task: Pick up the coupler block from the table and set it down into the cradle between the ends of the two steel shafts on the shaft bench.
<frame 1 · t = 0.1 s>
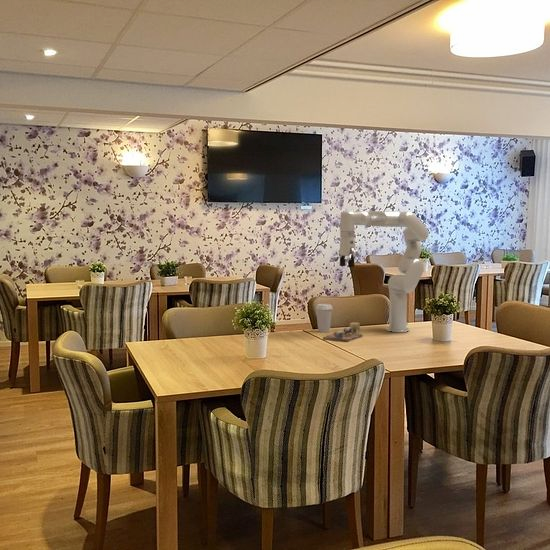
hand: (346, 266, 335), 37 cm above the table, tool pointing down, fingers open, 9 cm apart
coffee cup: (323, 331, 349), on the table
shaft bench: (342, 338, 330), on the table
coupler: (354, 334, 341), on the table
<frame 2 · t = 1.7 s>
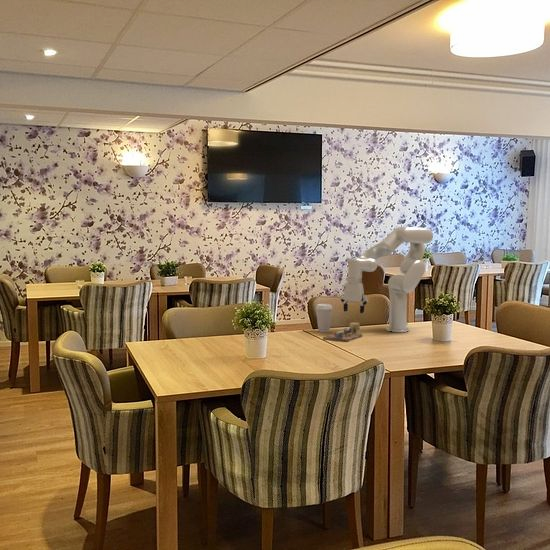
hand: (353, 312, 340), 12 cm above the table, tool pointing down, fingers open, 9 cm apart
nothing on the table moved.
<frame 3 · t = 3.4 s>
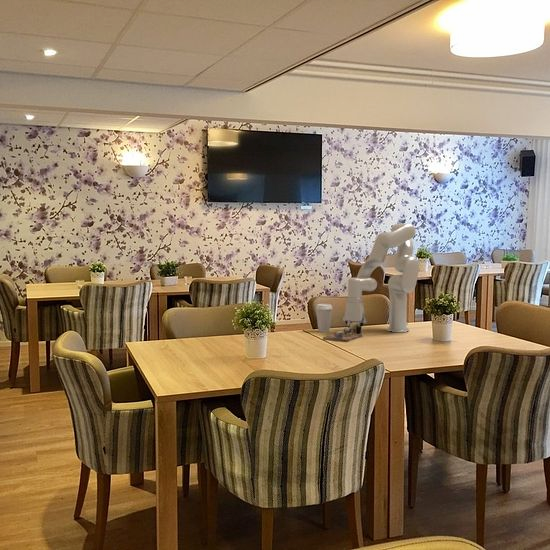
hand: (354, 333, 341), 0 cm above the table, tool pointing down, fingers closed on coupler, 4 cm apart
coupler: (354, 334, 341), on the table, touching gripper
everything else where it was.
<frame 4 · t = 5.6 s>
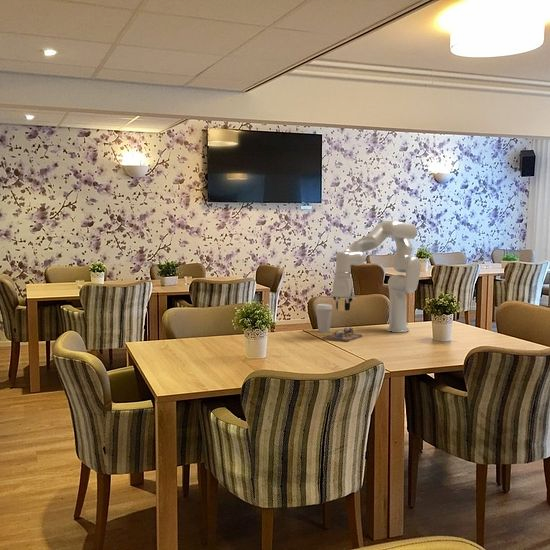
hand: (343, 309, 328), 15 cm above the table, tool pointing down, fingers closed on coupler, 4 cm apart
coupler: (343, 310, 328), point 15 cm above the table, touching gripper
everything else where it was.
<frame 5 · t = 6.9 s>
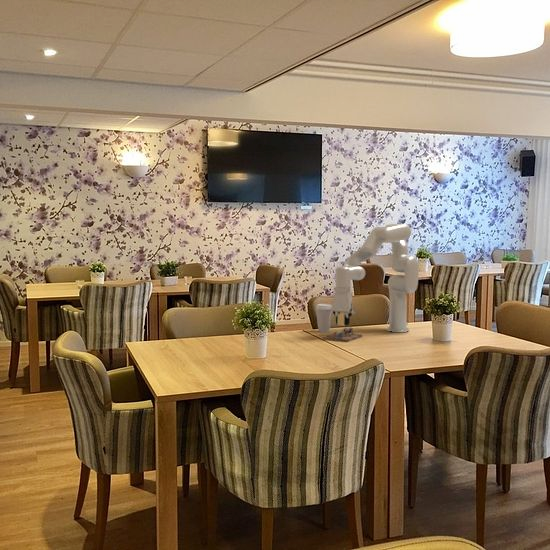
hand: (342, 324, 329), 7 cm above the table, tool pointing down, fingers closed on coupler, 4 cm apart
coupler: (342, 324, 329), point 7 cm above the table, touching gripper
everything else where it was.
when the fingers open (4 cm above the table, at t = 7.9 s): coupler drops 2 cm, resting on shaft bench.
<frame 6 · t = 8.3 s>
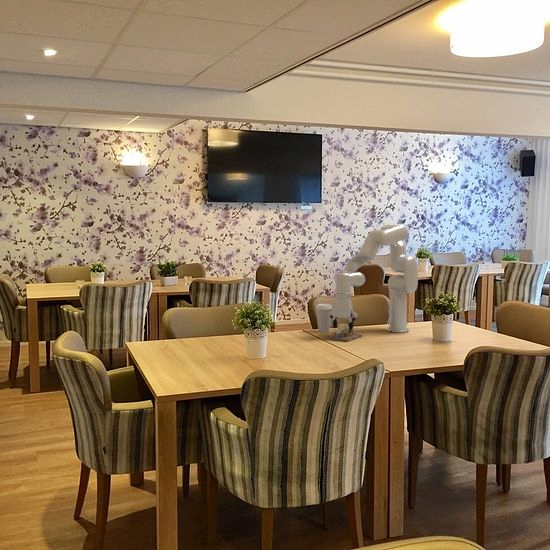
hand: (342, 328, 329), 5 cm above the table, tool pointing down, fingers open, 8 cm apart
coupler: (342, 335, 330), point 1 cm above the table, touching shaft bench
everything else where it was.
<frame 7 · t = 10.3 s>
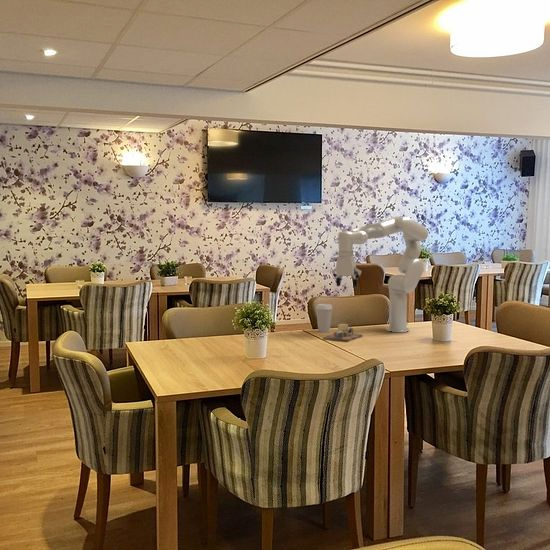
hand: (346, 286, 336), 27 cm above the table, tool pointing down, fingers open, 9 cm apart
nothing on the table moved.
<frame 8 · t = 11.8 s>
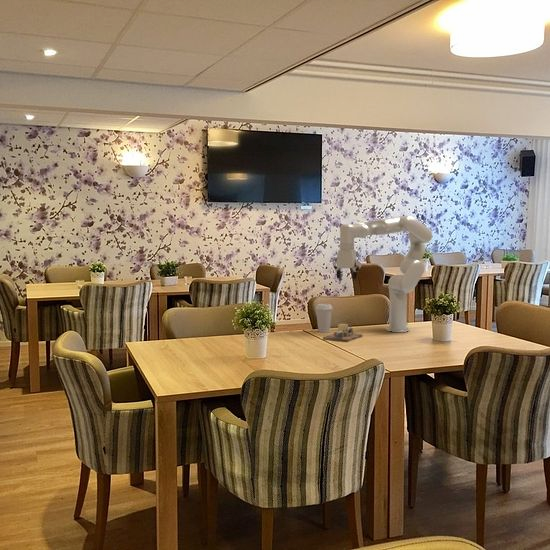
hand: (346, 278, 339), 30 cm above the table, tool pointing down, fingers open, 9 cm apart
nothing on the table moved.
at the end: coupler 0.1 cm off-centre on the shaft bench, point 1.2 cm above the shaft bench's base; coupler tilted 0°; the gripper is holding nothing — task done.
